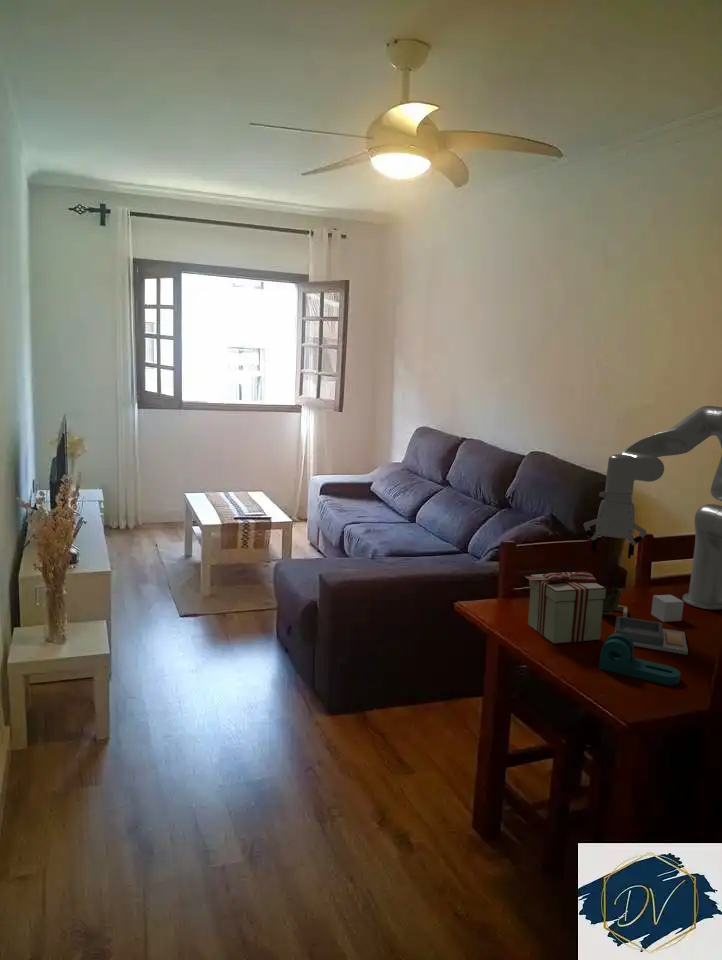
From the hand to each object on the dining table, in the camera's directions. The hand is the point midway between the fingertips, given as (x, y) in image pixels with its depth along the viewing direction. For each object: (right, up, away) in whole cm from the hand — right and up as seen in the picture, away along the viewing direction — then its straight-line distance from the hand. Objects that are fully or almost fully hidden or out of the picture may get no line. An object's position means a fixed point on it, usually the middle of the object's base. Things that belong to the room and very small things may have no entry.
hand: (611, 554), depth 210 cm
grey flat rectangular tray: (+6, -22, -13) cm, 26 cm away
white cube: (+17, -19, +3) cm, 26 cm away
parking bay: (-1, -18, +3) cm, 19 cm away
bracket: (-5, -26, -34) cm, 43 cm away
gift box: (-19, -20, -10) cm, 29 cm away
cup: (-1, -18, +4) cm, 19 cm away
